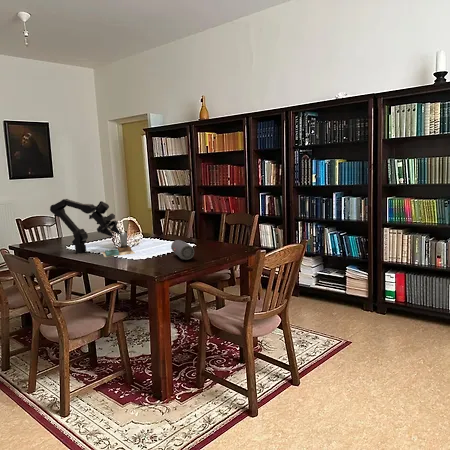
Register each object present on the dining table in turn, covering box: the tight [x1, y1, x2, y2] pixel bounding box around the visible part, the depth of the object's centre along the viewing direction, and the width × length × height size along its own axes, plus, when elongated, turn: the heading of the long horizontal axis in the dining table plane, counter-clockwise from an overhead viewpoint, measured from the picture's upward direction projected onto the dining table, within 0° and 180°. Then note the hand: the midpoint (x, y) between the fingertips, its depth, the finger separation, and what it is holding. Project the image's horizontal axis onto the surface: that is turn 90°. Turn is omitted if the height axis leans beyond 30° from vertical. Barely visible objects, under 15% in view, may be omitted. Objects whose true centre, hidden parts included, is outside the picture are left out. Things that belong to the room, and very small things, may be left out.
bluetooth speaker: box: [170, 239, 195, 261], centre depth 258 cm, size 23×9×10 cm, turn 21°
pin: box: [119, 231, 129, 248], centre depth 284 cm, size 4×4×12 cm
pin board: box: [101, 245, 136, 258], centre depth 279 cm, size 19×18×4 cm
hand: (116, 235), depth 284 cm, fingers open, 9 cm apart
